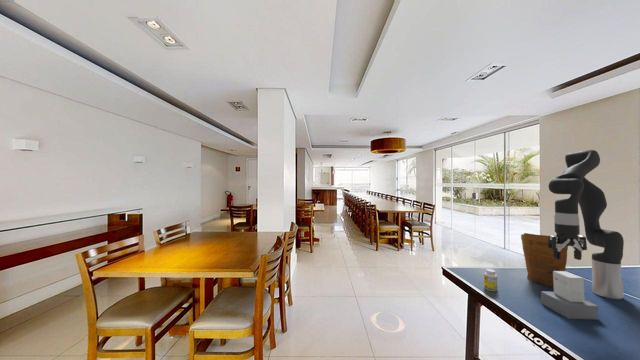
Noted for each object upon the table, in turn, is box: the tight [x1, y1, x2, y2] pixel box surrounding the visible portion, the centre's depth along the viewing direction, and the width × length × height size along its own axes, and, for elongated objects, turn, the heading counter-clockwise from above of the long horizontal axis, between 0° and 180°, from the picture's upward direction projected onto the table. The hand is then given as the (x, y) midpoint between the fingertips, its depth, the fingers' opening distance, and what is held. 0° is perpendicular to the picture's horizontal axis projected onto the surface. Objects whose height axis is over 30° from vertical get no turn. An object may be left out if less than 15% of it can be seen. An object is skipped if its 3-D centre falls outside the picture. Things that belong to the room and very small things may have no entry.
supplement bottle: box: [483, 268, 498, 292], centre depth 119 cm, size 6×6×10 cm
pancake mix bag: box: [520, 232, 569, 289], centre depth 126 cm, size 7×19×28 cm, turn 27°
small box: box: [553, 270, 586, 302], centre depth 100 cm, size 8×6×10 cm
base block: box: [540, 290, 599, 320], centre depth 99 cm, size 12×12×6 cm
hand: (567, 259), depth 100 cm, fingers open, 8 cm apart
